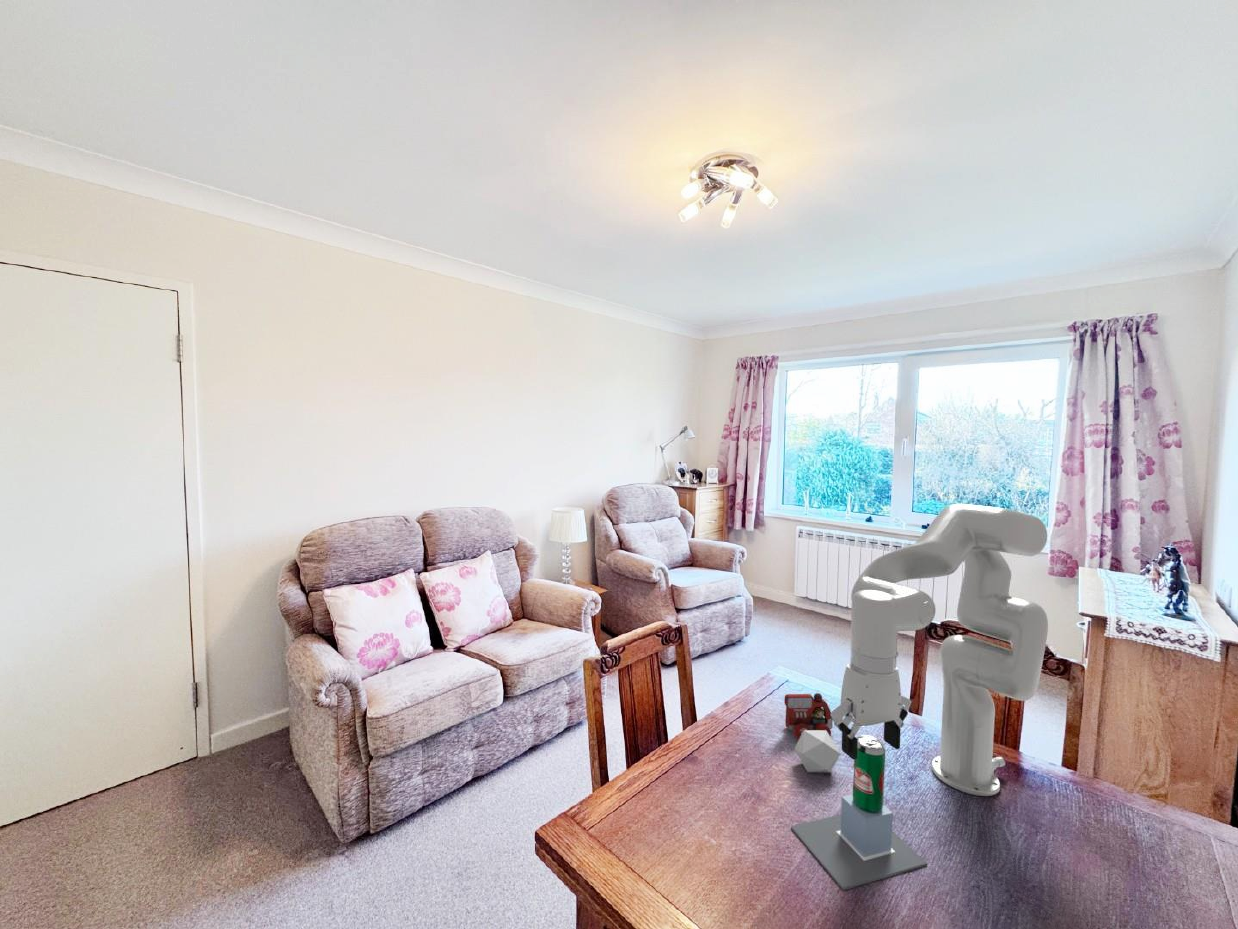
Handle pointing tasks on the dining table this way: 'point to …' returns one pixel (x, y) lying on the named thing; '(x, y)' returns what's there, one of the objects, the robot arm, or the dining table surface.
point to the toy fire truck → (807, 713)
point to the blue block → (866, 827)
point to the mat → (854, 854)
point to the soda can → (869, 774)
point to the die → (817, 751)
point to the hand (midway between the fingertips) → (870, 750)
